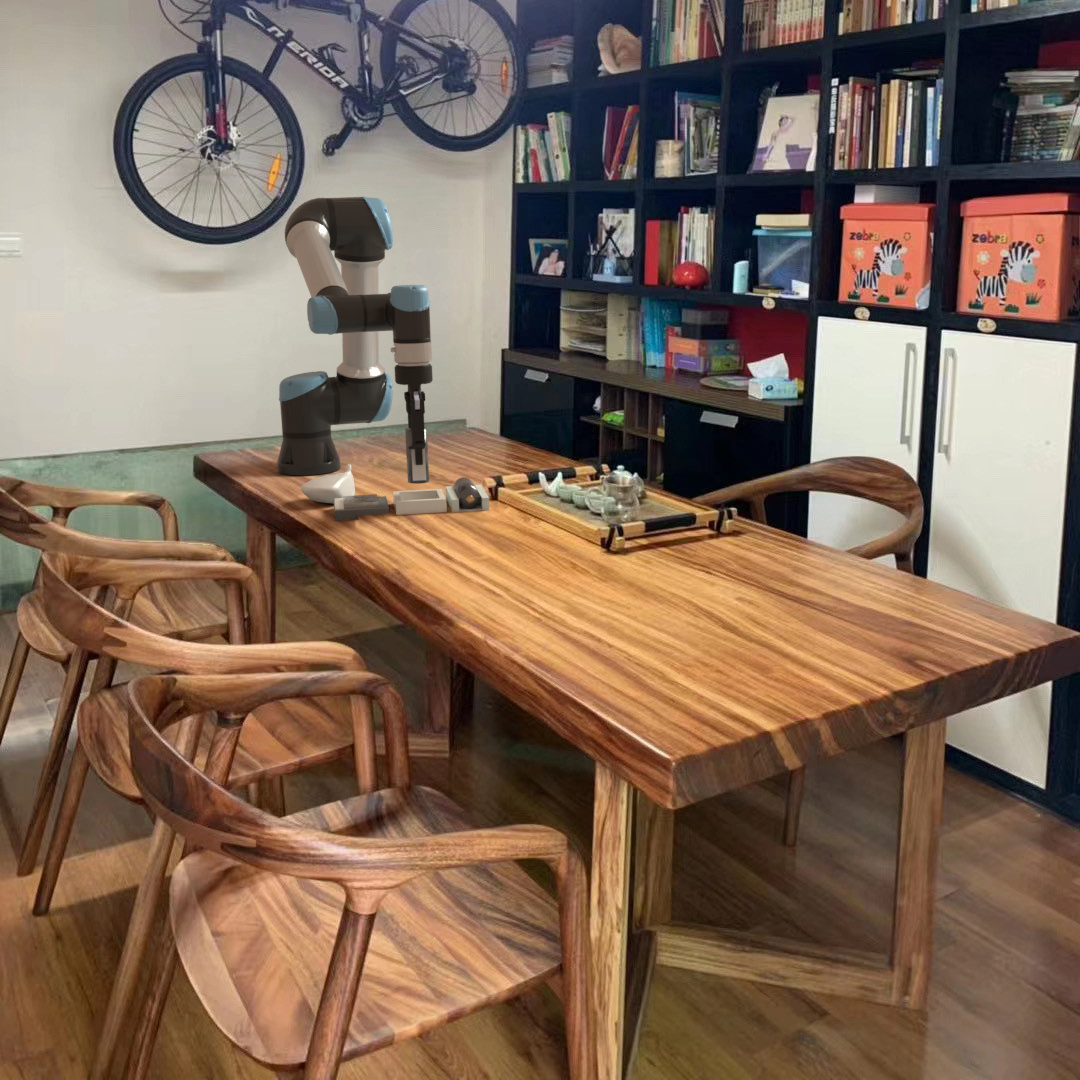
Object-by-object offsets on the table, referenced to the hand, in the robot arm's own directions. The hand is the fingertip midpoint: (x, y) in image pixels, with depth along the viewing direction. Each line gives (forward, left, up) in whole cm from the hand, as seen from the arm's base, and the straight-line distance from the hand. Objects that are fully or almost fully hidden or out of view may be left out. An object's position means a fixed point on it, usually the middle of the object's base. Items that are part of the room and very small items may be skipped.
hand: (418, 477), depth 247 cm
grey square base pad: (-2, -12, -7) cm, 14 cm away
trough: (-1, +10, -7) cm, 12 cm away
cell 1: (0, 0, -1) cm, 1 cm away
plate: (-2, -12, -5) cm, 13 cm away
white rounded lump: (-15, -19, -8) cm, 25 cm away
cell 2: (-1, +10, -6) cm, 12 cm away
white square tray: (0, 0, -7) cm, 7 cm away
